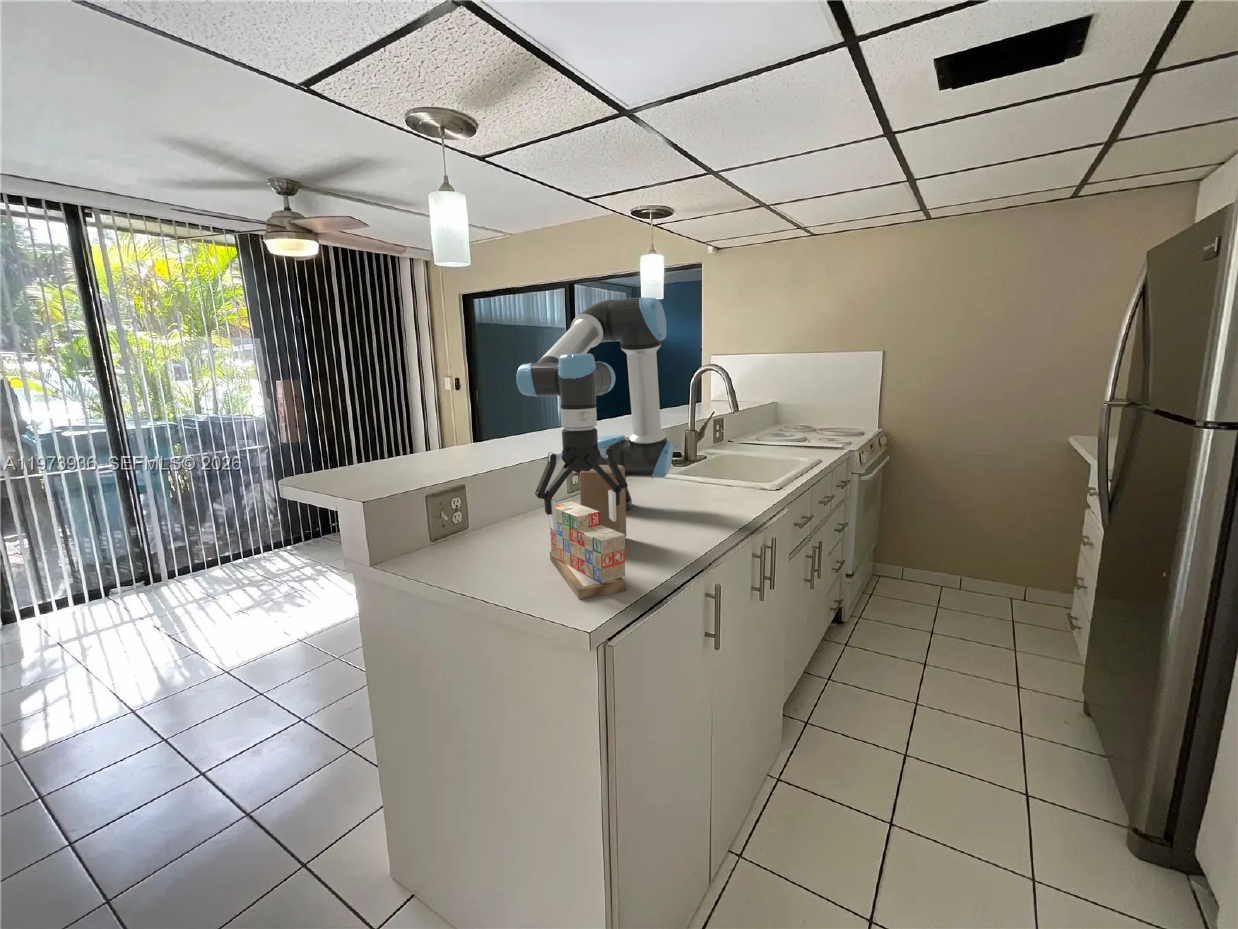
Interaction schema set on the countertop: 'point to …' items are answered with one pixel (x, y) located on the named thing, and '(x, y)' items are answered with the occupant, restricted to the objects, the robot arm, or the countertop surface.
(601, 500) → the block
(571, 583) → the picture frame
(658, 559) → the countertop surface
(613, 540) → the stack of blocks
